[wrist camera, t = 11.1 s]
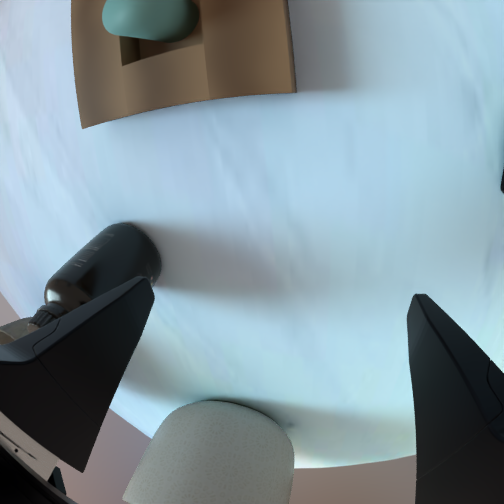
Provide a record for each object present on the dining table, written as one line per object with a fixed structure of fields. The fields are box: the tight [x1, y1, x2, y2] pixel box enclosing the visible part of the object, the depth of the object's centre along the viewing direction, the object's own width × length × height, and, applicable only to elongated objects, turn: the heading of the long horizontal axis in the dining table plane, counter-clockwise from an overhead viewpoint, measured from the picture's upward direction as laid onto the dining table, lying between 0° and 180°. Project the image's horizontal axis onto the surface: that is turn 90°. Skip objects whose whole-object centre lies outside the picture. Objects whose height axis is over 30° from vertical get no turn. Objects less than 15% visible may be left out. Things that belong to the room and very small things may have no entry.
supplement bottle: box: [27, 223, 161, 333], centre depth 20 cm, size 7×7×12 cm
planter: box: [122, 401, 294, 504], centre depth 30 cm, size 21×21×19 cm
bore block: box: [71, 0, 297, 129], centre depth 12 cm, size 14×12×3 cm
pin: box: [102, 0, 199, 43], centre depth 11 cm, size 3×3×5 cm
